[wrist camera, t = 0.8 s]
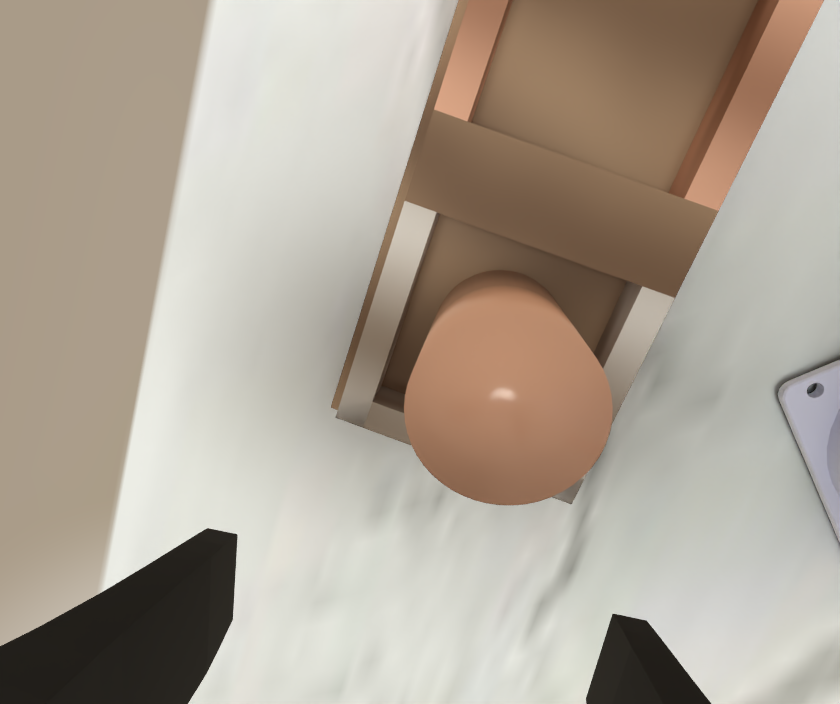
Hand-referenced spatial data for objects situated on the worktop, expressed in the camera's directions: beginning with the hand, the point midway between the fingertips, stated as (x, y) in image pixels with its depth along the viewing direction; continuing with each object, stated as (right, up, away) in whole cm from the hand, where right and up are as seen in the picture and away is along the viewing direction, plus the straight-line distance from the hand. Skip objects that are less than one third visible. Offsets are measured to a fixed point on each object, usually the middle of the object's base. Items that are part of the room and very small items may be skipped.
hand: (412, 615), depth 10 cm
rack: (+4, +10, +7) cm, 13 cm away
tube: (+3, +6, +8) cm, 10 cm away
